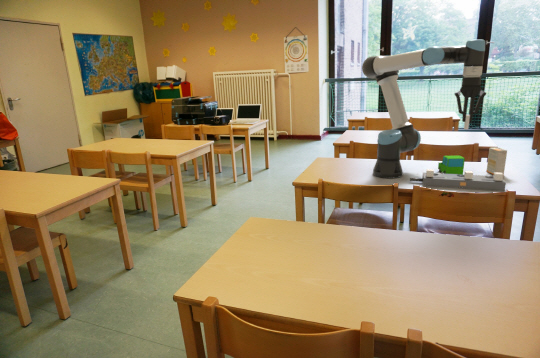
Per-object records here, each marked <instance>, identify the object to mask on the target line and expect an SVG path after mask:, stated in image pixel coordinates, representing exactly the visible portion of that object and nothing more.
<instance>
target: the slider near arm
mask: <svg viewBox="0 0 540 358" xmlns="http://www.w3.org/2000/svg"><path fill="white" fill-rule="evenodd" d="M425 173H426V177H433V175H434V173H435V169H432V168H430V169H429V168H427V169H426V172H425Z"/></svg>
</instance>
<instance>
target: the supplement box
mask: <svg viewBox="0 0 540 358" xmlns="http://www.w3.org/2000/svg"><path fill="white" fill-rule="evenodd" d="M507 154H508V150H507V149H504V148H501V147H495V146H494V147H489V149H488V157H487V165H486V172H487V173H489V174H491V175H492V176H494V172H500V173H502V174H503V176H504V175H505V168H506V161H507Z"/></svg>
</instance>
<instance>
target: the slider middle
mask: <svg viewBox="0 0 540 358" xmlns="http://www.w3.org/2000/svg"><path fill="white" fill-rule="evenodd" d="M463 175H464V178H465V179H472V178H473V175H474V172H473V171H472V170H464V172H463Z"/></svg>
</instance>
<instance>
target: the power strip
mask: <svg viewBox="0 0 540 358" xmlns="http://www.w3.org/2000/svg"><path fill="white" fill-rule="evenodd" d="M493 176H494V175H479V174H473V178H472V179H465V178H464V173H463V174H444V173H443V172H439V173H438V172H437V173H436V172H434V175H433V177H426V172H422V178H421V177H420V178H419V177H409V182H421V183H422V187H431V188H432V187H436V188H437V187H438V188H448V189H449V188H450V189H463V190H464V189H466V190H467V189H468V190H482V191H496V192H497V191H498V192H505V191H506V184H507V181H506V180H504V179H502V181H497V180H494V179H493Z"/></svg>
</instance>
